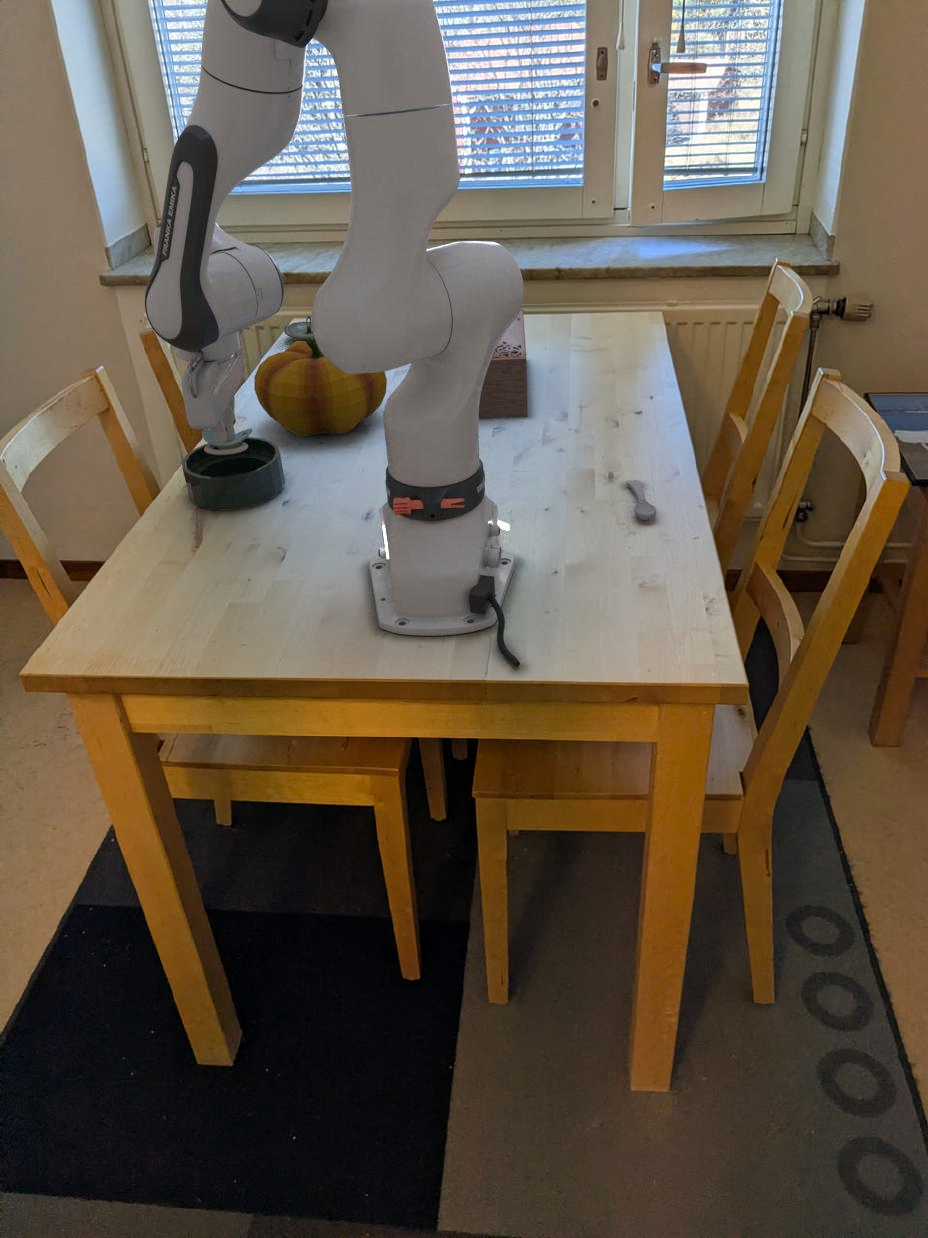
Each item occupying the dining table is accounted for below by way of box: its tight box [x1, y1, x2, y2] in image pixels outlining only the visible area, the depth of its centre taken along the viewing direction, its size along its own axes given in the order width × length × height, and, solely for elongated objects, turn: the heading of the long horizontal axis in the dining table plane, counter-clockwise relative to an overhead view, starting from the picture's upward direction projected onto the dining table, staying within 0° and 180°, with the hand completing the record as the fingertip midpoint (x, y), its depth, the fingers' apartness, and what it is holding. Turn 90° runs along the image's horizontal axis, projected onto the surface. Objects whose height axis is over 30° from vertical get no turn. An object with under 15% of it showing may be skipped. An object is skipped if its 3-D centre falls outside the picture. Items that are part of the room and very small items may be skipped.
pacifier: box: [201, 406, 253, 455], centre depth 141 cm, size 7×6×6 cm
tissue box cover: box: [479, 308, 529, 420], centre depth 173 cm, size 26×14×10 cm, turn 178°
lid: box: [283, 315, 316, 342], centre depth 203 cm, size 11×10×5 cm
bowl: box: [181, 436, 286, 511], centre depth 146 cm, size 14×14×6 cm
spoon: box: [626, 479, 657, 521], centre depth 137 cm, size 3×12×2 cm, turn 2°
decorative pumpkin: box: [253, 338, 388, 437], centre depth 163 cm, size 20×22×15 cm
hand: (225, 432), depth 143 cm, fingers closed on pacifier, 3 cm apart
